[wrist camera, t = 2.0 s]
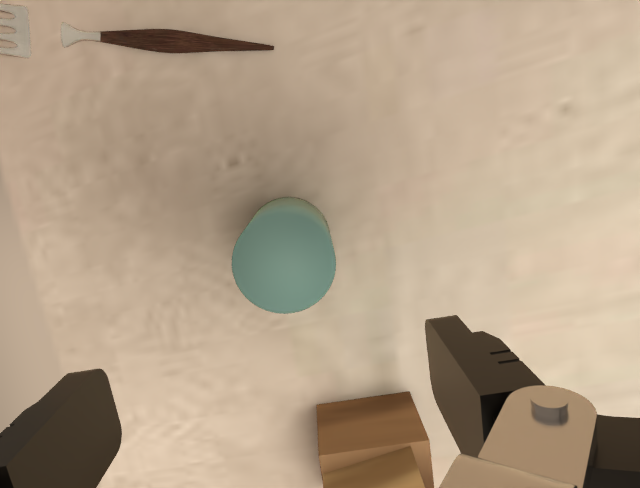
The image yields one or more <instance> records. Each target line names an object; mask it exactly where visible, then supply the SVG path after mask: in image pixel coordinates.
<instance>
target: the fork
mask: <svg viewBox="0 0 640 488" xmlns="http://www.w3.org/2000/svg"><path fill="white" fill-rule="evenodd" d="M0 11H5V12H8V13H11V14H13V15H14V16H15V18H13V19H2V18H0V25H2V26H7V27H11V28H13V29H15V30H16V32H15V33H11V34H10V33H0V39H1V40H6V41H10V42H13V43H15V44H17V47H15V48H3V47H0V54H6V55H12V56H17V57H23V58H30V57H31V42H30V29H29V17H28V9H27V7H25V6H19V5H8V4H0ZM61 40H62V44H63V47H68V46H70V45H72V44H74V43H76V42H78V41H82V40H93V41H100V42H105V43H111V44H116V45H121V46H127V47H132V48H138V49H143V50H149V51H156V52H165V53H190V52H209V51H246V50H274V46H270V45H265V44H258V43H252V42H245V41H238V40H232V39H225V38H219V37H213V36H207V35H202V34H196V33H191V32H185V31H178V30H168V29H144V30H124V31H106V32H84V31H80V30H77V29H75V28H73V27H72V26H70V25H68V24H67V23H64V22H62V24H61Z"/></svg>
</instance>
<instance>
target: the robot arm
mask: <svg viewBox="0 0 640 488" xmlns="http://www.w3.org/2000/svg"><path fill="white" fill-rule="evenodd" d="M425 332H426V342H427V351H428V360H429V370H430V379H431V385H432V390H433V394H434V397H435V400H436V403H437V405H438V407H439V409H440V411H441V413H442V415H443V417H444V419H445V422H446V424H447V426H448V428H449V430H450V432H451V434H452V436H453V438H454V440H455V442H456V444H457V446H458V448H459V450H460V452H461V454H459V455H458V456H457V457H456V459H455V460H454V462H453V463H452V465H451V467H450V469H449V471H448V472H447V474H446V476H445V478H444V480H443V481H442V483H441V485H440V487H439V488H640V418H628V417H611V416H603V415H597V412H596V409H595V407H594V406H593V404H592V403H591V402H590V401H589V400H587V399H586V398H585V397H583V396H581V395H580V394H578V393H575V392H573V391H571V390H567V389H564V388H560V387H554V386H546V385H545V384H544V383H543V382H542V381H541V380H540V379H539V378H538V377H537V376H536V375H535V374H534V373H533V372H532V371H531V370H530V369H529V368H528V367H527V366H526V365H525V364H524V363H523V362H522V361H520V360H519V358H518V357H517V356H516V355H515V354H514V353H513V352H511V351H510V349H509V348H508V347H507V346H506V345H505V344H504V343H503V342H502V341H501V340H500V339H499V338H497V337H494V336H492V335H490V334H488V333H485V332H483V331H480V332H474V333H472V332H471V331H470V330H469V329H468V328H467V326H466V325H465V324H464V323H463V322H462V321H461V320H460V318H459V317H458V316H457V315H454V316H447V317H441V318H434V319H427V320H426V322H425ZM121 437H122V431H121V424H120V420H119V417H118V413H117V409H116V406H115V402H114V398H113V395H112V391H111V388H110V384H109V380H108V377H107V375H106V373H105V372H104V371H103V370H102V369H94V370H87V371H80V372H74V373H68V374H67V375H65V376H64V377H63V378H62V379H61V380H60V381H59V382H58V383H57V384H56V385H55V386H54V387H53V388H52V389H51V390H50V391H49V392H48V393H47V394H46V395H45V396H44V397H43V398H41V399H40V400H39V402H37V403H35V404H34V405H32V406H31V407H29V408H27V409H26V410H25V411H23V412H22V413H21V414H20V415H19V416H18V417H17V418H16V419H15V420H14V421H13V422H12V423H11V424H10V427H7V428H6V429H5V430H3V432H1V433H0V488H96V487H97V485H98V484H99V482H100V481H101V479H102V477H103V476H104V474H105V472H106V471H107V469H108V467H109V466H110V464H111V462H112V461H113V459H114V458H115V456H116V454H117V453H118V451H119V448H120V444H121Z"/></svg>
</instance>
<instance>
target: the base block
mask: <svg viewBox="0 0 640 488" xmlns="http://www.w3.org/2000/svg"><path fill="white" fill-rule="evenodd" d="M317 424H318V451H319V461H320V467H321V473H322V479H323V474H324V473H327V472H330V471H333V470H337V469H340V468H343V467H346V466H349V465H352V464H355V463H358V462H361V461H364V460H368V459H371V458H374V457H377V456H380V455H383V454H386V453H389V452H392V451H395V450H399V449H402V448H405V447H408V446H411V448H412V451H413V454H414V457H415V460H416V463H417V466H418V468H419V471H420V474H421V477H422V480H423V483H424V486H425V488H434V482H433V472H432V462H431V453H430V443H429V438H428V436H427V433H426V431H425V428H424V426H423V424H422V421H421V419H420V416H419V414H418V411H417V409H416V407H415V404H414V402H413V399H412V397H411V394H410V392H402V393H395V394H388V395H381V396H374V397H367V398H360V399H353V400H346V401H339V402H332V403H325V404H318V405H317Z"/></svg>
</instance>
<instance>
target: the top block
mask: <svg viewBox="0 0 640 488" xmlns="http://www.w3.org/2000/svg"><path fill="white" fill-rule="evenodd" d="M323 487H324V488H425V486H424V483H423V480H422V477H421V474H420V471H419V468H418V466H417V463H416V460H415V457H414V454H413V451H412V448H411V446H408V447H405V448H402V449H399V450H395V451H392V452H389V453H386V454H383V455H380V456H377V457H374V458H371V459H368V460H364V461H361V462H358V463H355V464H352V465H349V466H346V467H343V468H340V469H337V470H333V471H330V472H327V473H324V474H323Z"/></svg>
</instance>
